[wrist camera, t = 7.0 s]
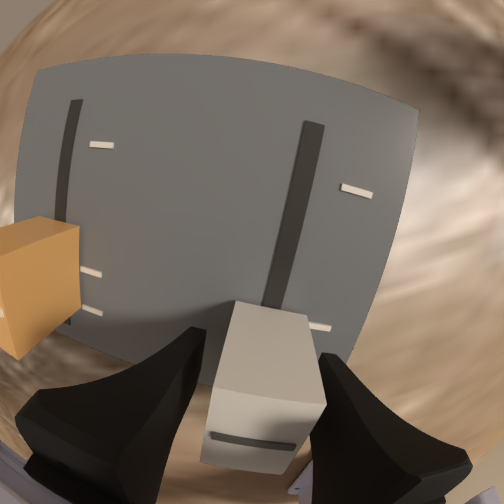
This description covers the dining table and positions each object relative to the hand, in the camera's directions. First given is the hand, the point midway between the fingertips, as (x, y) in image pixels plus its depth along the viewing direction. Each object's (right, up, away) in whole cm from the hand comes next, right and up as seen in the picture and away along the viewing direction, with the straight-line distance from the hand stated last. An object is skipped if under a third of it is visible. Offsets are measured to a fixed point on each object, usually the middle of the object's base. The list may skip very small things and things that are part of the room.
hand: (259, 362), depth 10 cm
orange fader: (-9, +4, +1) cm, 10 cm away
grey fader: (0, 0, +1) cm, 1 cm away
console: (-4, +5, +1) cm, 7 cm away
